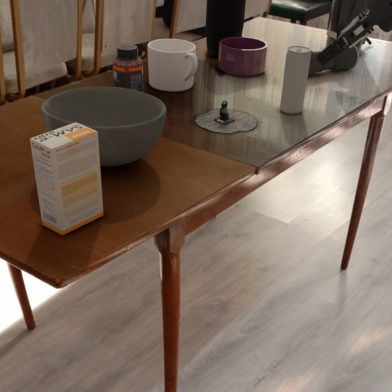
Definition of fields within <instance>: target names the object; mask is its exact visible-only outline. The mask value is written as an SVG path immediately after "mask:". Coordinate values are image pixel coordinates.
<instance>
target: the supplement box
mask: <svg viewBox="0 0 392 392" xmlns="http://www.w3.org/2000/svg"><path fill="white" fill-rule="evenodd" d="M29 142H30V149H31V158H32V162H33V171H34V177H35V182H36V183H35V184H36V191H37V197H38V204H39V210H40V218H41V224H42V226H44V227H46V228H48V229H50V230H51V231H54V232H56V233H57V234H59V235H61V236H65V235H66V234H67V235H68V234H69V233H71V232H72V231H75V230H77V229H79V228H80V227H83V226H85V225H87V224H89V223H91V222H94V221H95V220H97V219H99V218H101V217H104V201H103V187H102V174H101V166H100V157H99V143H98V132H97V131H95V130H93V129H91V128H88V127H86V126H84V125H81V124H79V123H73V124H70V125H67V126H64V127H61V128H58V129H56V130H53V131H50V132H44V133H42V134H39V135H36V136H33V137H30V138H29Z"/></svg>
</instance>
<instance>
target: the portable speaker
mask: <svg viewBox="0 0 392 392" xmlns="http://www.w3.org/2000/svg"><path fill="white" fill-rule="evenodd" d="M246 2H247V0H206V8H205V29H204V30H205V41H206V48H207V49H206V50H207V51H206V52H207V53H206V54H207V56H209V57H210V58H214V56H219V43H220V41H221V39H224V38H227V37H243V31H244V26H245V17H246V16H245V14H246Z"/></svg>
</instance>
